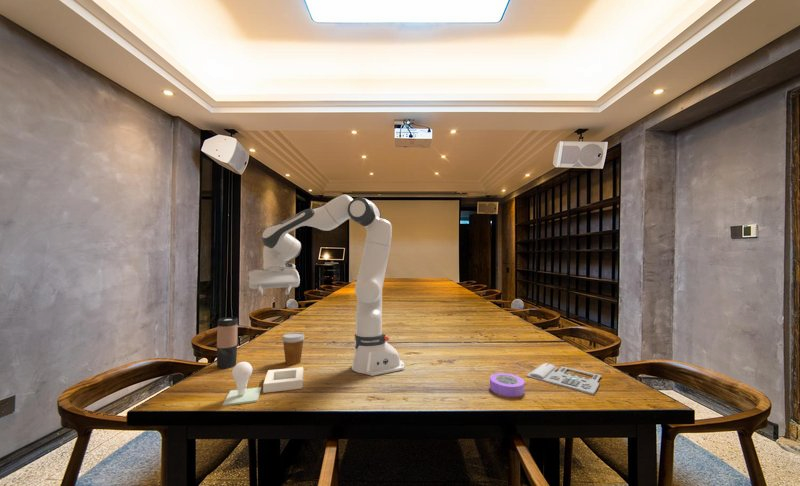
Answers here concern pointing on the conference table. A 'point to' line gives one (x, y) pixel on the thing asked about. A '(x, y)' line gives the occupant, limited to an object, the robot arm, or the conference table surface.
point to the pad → (248, 397)
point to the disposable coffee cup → (293, 347)
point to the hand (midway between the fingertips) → (275, 294)
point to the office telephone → (566, 378)
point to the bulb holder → (283, 379)
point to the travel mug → (227, 342)
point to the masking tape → (507, 384)
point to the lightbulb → (242, 376)
